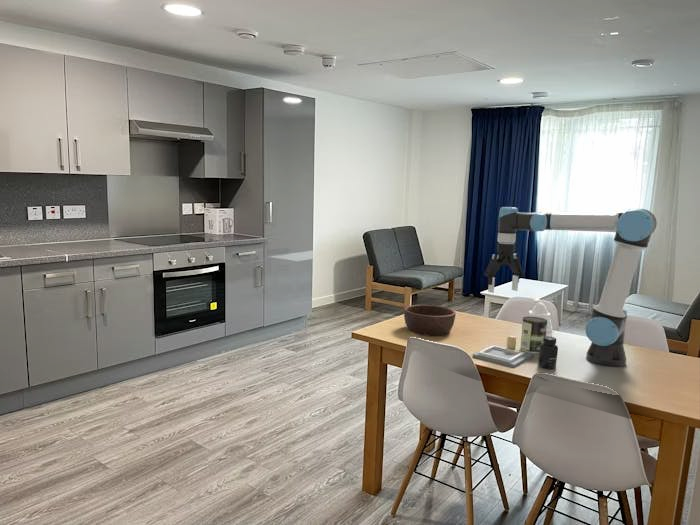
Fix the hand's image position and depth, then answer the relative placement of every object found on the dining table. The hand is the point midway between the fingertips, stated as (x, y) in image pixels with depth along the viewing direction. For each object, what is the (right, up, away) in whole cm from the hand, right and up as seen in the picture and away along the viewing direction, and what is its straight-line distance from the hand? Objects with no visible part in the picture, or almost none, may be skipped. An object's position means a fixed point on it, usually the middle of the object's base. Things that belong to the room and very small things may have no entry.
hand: (502, 291), depth 232 cm
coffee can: (+13, -26, +2) cm, 29 cm away
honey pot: (+24, -23, +25) cm, 42 cm away
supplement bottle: (+12, -29, -20) cm, 38 cm away
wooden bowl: (-29, -21, +27) cm, 45 cm away
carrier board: (-3, -27, -10) cm, 29 cm away
